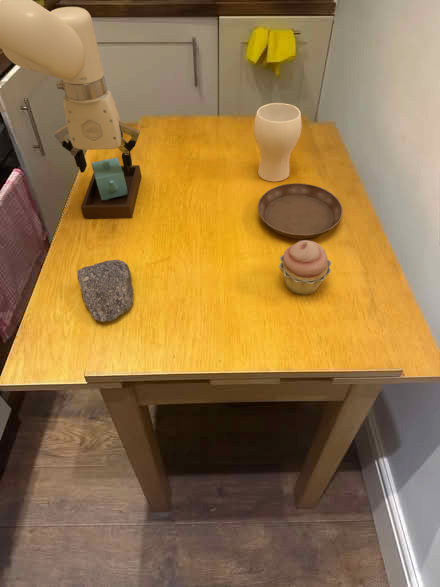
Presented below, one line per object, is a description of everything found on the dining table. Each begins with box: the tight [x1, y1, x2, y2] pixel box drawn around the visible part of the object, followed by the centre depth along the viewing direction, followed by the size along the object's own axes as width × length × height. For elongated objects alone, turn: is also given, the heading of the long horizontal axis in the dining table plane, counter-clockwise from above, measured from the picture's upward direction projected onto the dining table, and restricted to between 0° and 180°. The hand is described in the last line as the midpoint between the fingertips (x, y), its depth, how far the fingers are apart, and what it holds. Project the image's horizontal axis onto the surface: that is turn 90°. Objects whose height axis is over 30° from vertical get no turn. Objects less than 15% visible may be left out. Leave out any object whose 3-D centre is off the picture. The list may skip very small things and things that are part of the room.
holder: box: [80, 164, 142, 220], centre depth 94 cm, size 17×11×3 cm, turn 0°
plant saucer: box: [257, 182, 344, 240], centre depth 87 cm, size 18×18×3 cm
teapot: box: [90, 157, 128, 200], centre depth 92 cm, size 12×6×8 cm, turn 20°
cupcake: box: [278, 239, 332, 296], centre depth 72 cm, size 9×9×10 cm
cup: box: [253, 102, 303, 182], centre depth 95 cm, size 11×11×15 cm
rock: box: [76, 259, 134, 323], centre depth 73 cm, size 12×5×10 cm
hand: (105, 169), depth 89 cm, fingers open, 9 cm apart
